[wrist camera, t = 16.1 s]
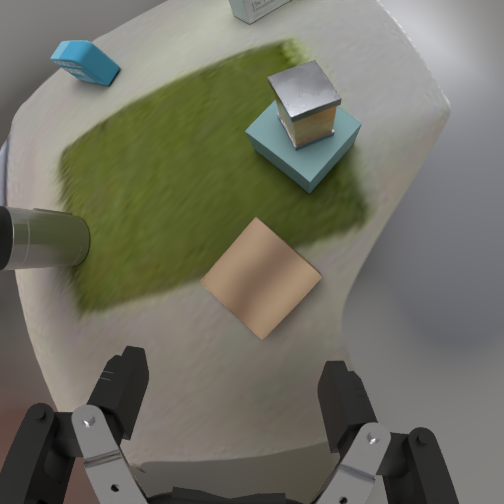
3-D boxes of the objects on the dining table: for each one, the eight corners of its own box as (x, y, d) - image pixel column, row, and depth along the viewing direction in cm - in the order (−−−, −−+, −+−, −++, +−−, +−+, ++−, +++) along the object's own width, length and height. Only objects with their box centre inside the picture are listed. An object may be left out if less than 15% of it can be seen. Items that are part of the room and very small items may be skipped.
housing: (295, 151, 32) (290, 117, 23) (277, 117, 32) (267, 77, 23) (333, 135, 31) (341, 98, 22) (314, 102, 31) (315, 59, 22)
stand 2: (217, 276, 41) (200, 281, 34) (264, 222, 39) (255, 216, 32) (269, 325, 39) (262, 340, 32) (319, 272, 38) (322, 276, 31)
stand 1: (255, 150, 39) (245, 131, 33) (299, 103, 38) (297, 78, 31) (309, 193, 38) (310, 181, 31) (353, 143, 37) (361, 123, 30)
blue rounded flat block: (80, 80, 47) (47, 58, 35) (91, 64, 46) (59, 40, 35) (111, 87, 45) (74, 60, 33) (123, 69, 44) (89, 40, 33)
